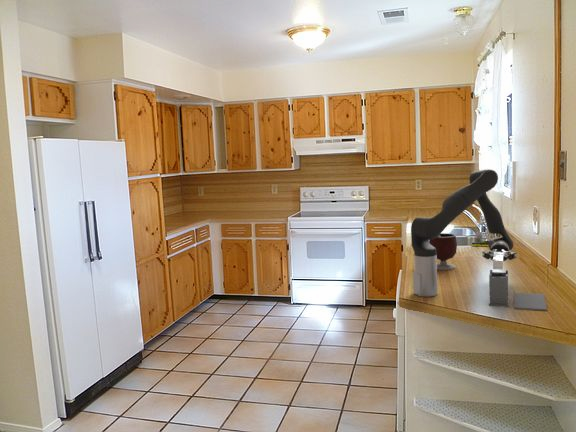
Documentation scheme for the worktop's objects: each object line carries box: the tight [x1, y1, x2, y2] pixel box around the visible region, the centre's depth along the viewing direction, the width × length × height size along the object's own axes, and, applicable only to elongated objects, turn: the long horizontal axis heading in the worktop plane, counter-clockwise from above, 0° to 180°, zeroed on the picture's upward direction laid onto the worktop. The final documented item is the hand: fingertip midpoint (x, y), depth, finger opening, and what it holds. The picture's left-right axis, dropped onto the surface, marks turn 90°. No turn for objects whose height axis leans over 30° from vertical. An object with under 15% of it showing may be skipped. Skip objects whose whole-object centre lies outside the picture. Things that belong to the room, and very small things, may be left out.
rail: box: [492, 252, 504, 271], centre depth 197 cm, size 18×4×4 cm, turn 156°
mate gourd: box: [428, 232, 458, 271], centre depth 260 cm, size 16×14×20 cm
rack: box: [488, 269, 510, 308], centre depth 196 cm, size 11×7×12 cm, turn 156°
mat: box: [513, 292, 548, 311], centre depth 195 cm, size 21×11×1 cm, turn 156°
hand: (498, 258), depth 200 cm, fingers closed on rail, 3 cm apart
